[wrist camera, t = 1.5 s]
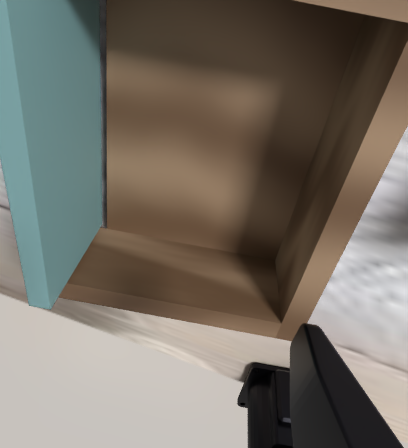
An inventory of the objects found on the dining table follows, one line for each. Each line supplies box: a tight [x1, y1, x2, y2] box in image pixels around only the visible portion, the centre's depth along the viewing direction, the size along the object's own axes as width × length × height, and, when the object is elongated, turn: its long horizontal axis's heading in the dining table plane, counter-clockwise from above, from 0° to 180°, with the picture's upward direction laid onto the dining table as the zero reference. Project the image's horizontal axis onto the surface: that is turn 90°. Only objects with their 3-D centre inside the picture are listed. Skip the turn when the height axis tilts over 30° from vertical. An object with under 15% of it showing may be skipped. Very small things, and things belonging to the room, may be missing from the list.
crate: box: [58, 0, 408, 341], centre depth 16 cm, size 16×13×6 cm
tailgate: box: [0, 0, 102, 310], centre depth 15 cm, size 13×1×7 cm, turn 171°
